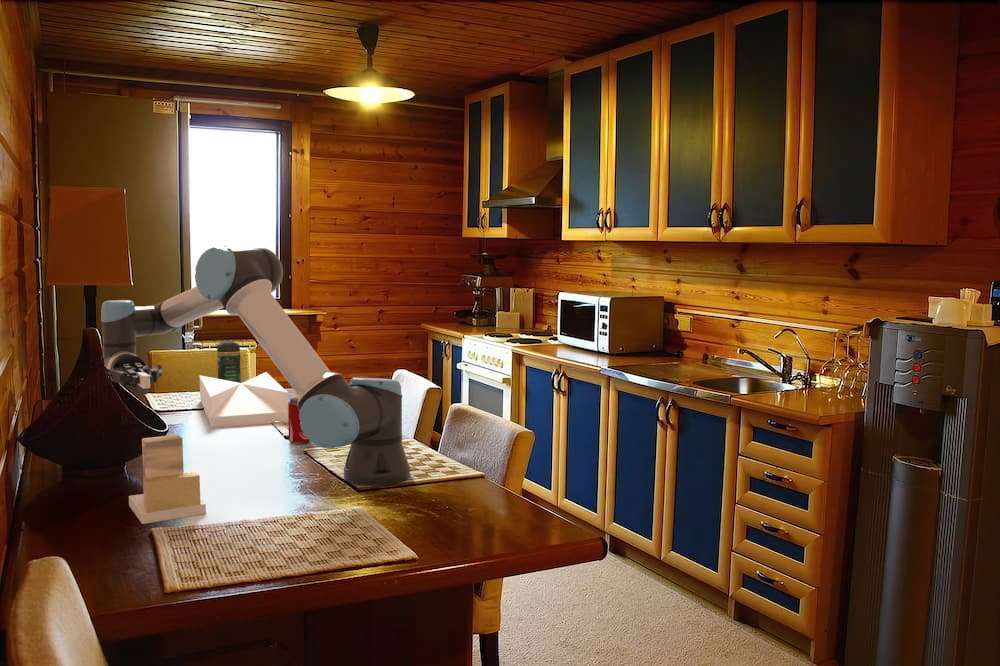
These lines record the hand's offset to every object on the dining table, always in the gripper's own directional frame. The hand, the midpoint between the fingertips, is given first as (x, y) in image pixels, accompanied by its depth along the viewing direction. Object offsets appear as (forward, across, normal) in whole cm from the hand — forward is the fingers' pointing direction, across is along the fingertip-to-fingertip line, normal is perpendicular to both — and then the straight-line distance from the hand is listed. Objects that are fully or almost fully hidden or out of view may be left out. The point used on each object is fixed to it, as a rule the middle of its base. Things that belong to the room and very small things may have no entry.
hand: (146, 382), depth 187 cm
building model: (-80, -43, -25) cm, 94 cm away
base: (+16, 0, -24) cm, 29 cm away
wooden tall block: (+14, 0, -22) cm, 26 cm away
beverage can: (-27, -43, -24) cm, 57 cm away
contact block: (+21, 0, -22) cm, 31 cm away
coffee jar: (-118, -50, -24) cm, 131 cm away
